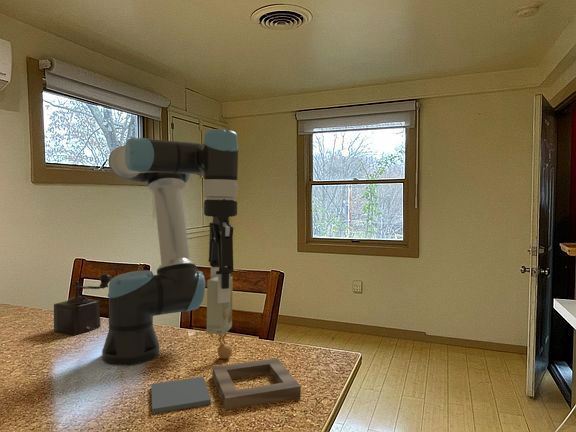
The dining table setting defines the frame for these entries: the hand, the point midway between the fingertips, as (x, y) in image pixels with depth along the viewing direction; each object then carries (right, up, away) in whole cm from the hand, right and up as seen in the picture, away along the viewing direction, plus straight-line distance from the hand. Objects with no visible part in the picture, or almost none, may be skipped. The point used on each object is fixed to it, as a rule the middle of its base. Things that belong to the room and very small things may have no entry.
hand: (219, 297), depth 92 cm
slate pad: (-9, -22, -2) cm, 23 cm away
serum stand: (+8, -22, +2) cm, 23 cm away
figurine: (-3, -21, +20) cm, 29 cm away
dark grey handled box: (-55, -20, +46) cm, 74 cm away
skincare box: (0, -8, 0) cm, 8 cm away
